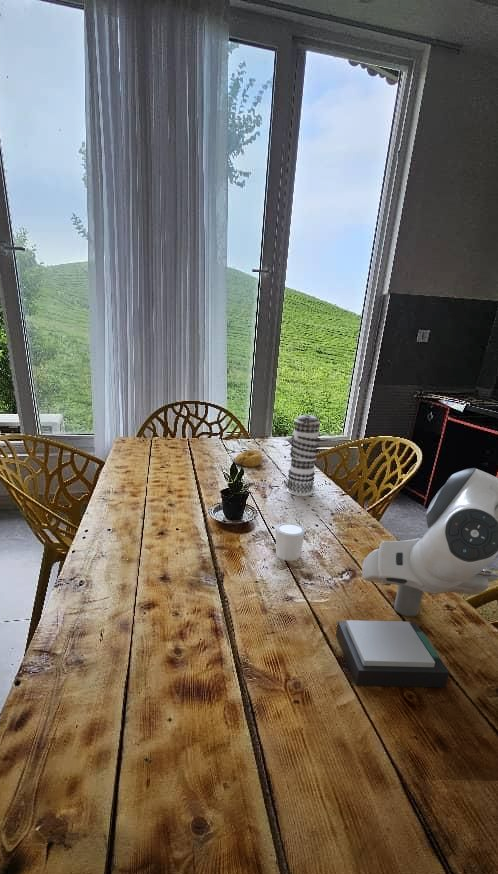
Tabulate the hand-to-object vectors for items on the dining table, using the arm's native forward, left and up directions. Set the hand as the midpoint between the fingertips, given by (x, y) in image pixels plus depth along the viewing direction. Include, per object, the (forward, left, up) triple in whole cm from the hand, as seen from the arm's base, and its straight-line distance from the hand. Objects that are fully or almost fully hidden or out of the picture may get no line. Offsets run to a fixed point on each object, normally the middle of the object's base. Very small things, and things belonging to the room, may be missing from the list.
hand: (410, 584), depth 86 cm
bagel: (+24, -93, -6) cm, 97 cm away
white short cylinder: (+20, -20, -6) cm, 29 cm away
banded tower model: (+9, -64, -6) cm, 65 cm away
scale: (+9, +14, -6) cm, 18 cm away
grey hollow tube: (0, +1, -6) cm, 6 cm away
